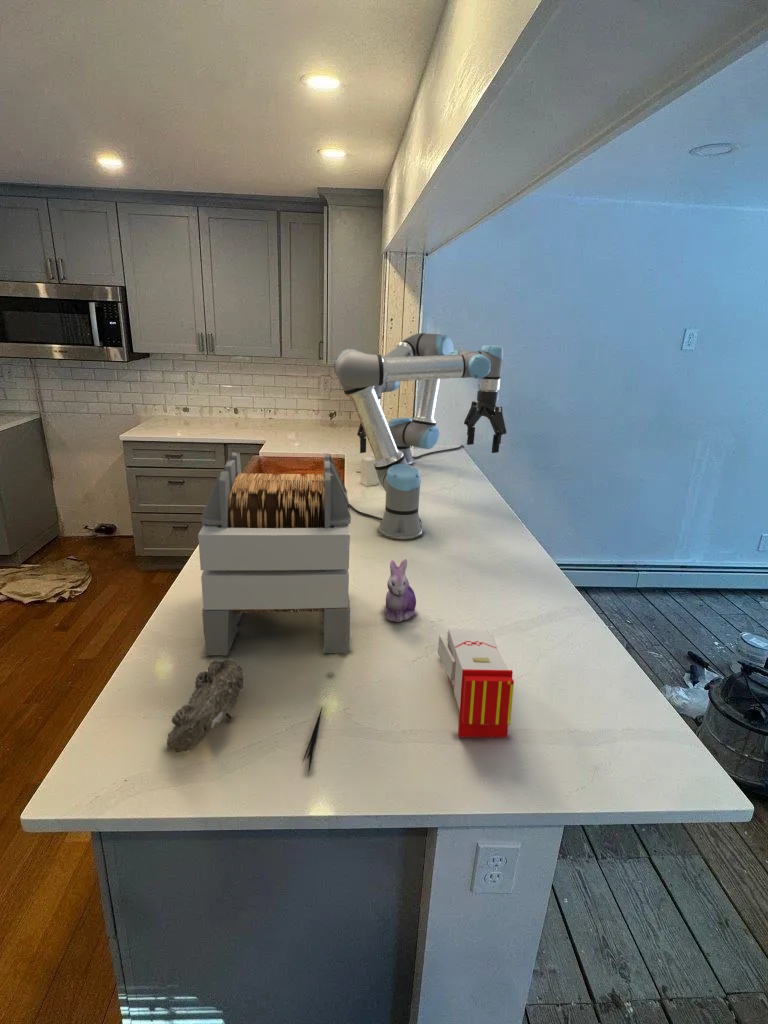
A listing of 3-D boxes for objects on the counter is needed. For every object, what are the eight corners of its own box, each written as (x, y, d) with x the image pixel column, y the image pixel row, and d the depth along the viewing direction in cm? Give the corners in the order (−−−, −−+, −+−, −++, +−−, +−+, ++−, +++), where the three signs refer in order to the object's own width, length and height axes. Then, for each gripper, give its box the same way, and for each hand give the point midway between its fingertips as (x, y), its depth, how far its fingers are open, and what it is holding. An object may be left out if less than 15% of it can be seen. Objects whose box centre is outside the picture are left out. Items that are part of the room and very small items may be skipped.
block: (366, 486, 251) (367, 460, 247) (360, 483, 255) (361, 457, 251) (377, 484, 254) (378, 459, 250) (371, 481, 258) (372, 456, 254)
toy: (488, 613, 130) (523, 677, 101) (484, 667, 133) (517, 744, 104) (435, 612, 130) (455, 676, 101) (432, 666, 133) (451, 743, 103)
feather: (331, 679, 122) (336, 673, 122) (307, 777, 96) (313, 769, 95) (324, 675, 122) (329, 669, 121) (298, 772, 95) (304, 764, 95)
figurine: (392, 627, 141) (395, 572, 136) (374, 608, 149) (376, 556, 144) (425, 619, 145) (429, 566, 140) (405, 601, 154) (408, 550, 149)
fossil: (192, 660, 117) (244, 628, 112) (224, 691, 120) (276, 661, 115) (142, 746, 98) (202, 712, 93) (182, 779, 101) (242, 748, 96)
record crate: (226, 586, 157) (217, 442, 143) (344, 585, 161) (346, 445, 147) (202, 658, 125) (189, 482, 112) (350, 654, 129) (354, 483, 115)
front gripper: (521, 395, 195) (513, 455, 202) (473, 385, 215) (467, 440, 222) (505, 395, 191) (498, 457, 198) (457, 386, 211) (453, 442, 218)
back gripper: (395, 412, 235) (393, 461, 243) (364, 402, 255) (363, 448, 262) (380, 414, 232) (378, 464, 239) (349, 404, 251) (349, 450, 259)
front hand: (482, 448), depth 210 cm, fingers open, 13 cm apart
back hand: (370, 456), depth 251 cm, fingers open, 13 cm apart
